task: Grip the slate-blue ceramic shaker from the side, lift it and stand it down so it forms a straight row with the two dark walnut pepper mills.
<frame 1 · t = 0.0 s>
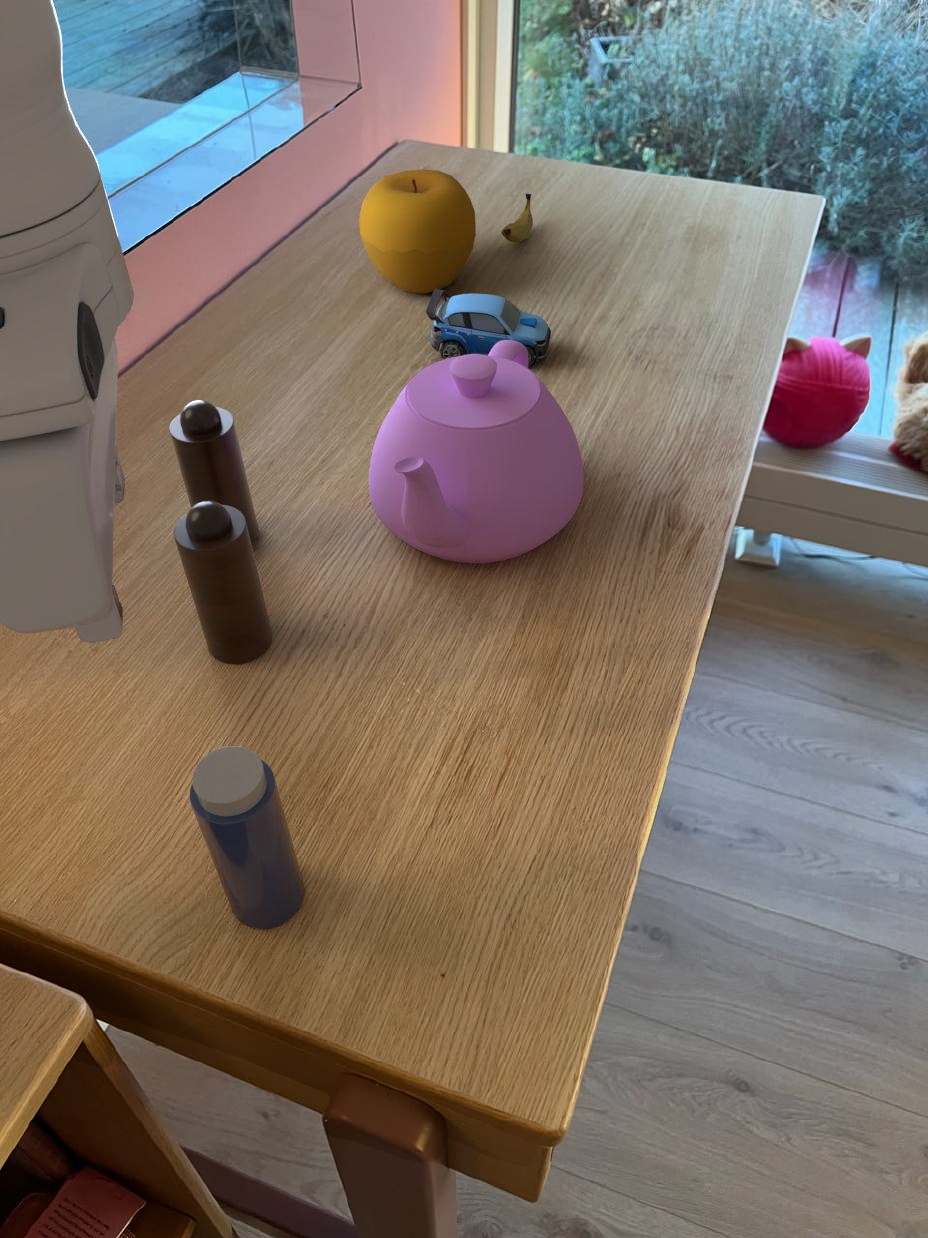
hand: (106, 558, 46), 23 cm above the table, tool pointing down, fingers open, 8 cm apart
apple: (422, 281, 114), on the table
blue shaker: (267, 895, 60), on the table
toy car: (490, 354, 103), on the table
far mill: (229, 535, 83), on the table
banana: (518, 244, 120), on the table
teapot: (472, 516, 84), on the table
near mill: (240, 640, 75), on the table
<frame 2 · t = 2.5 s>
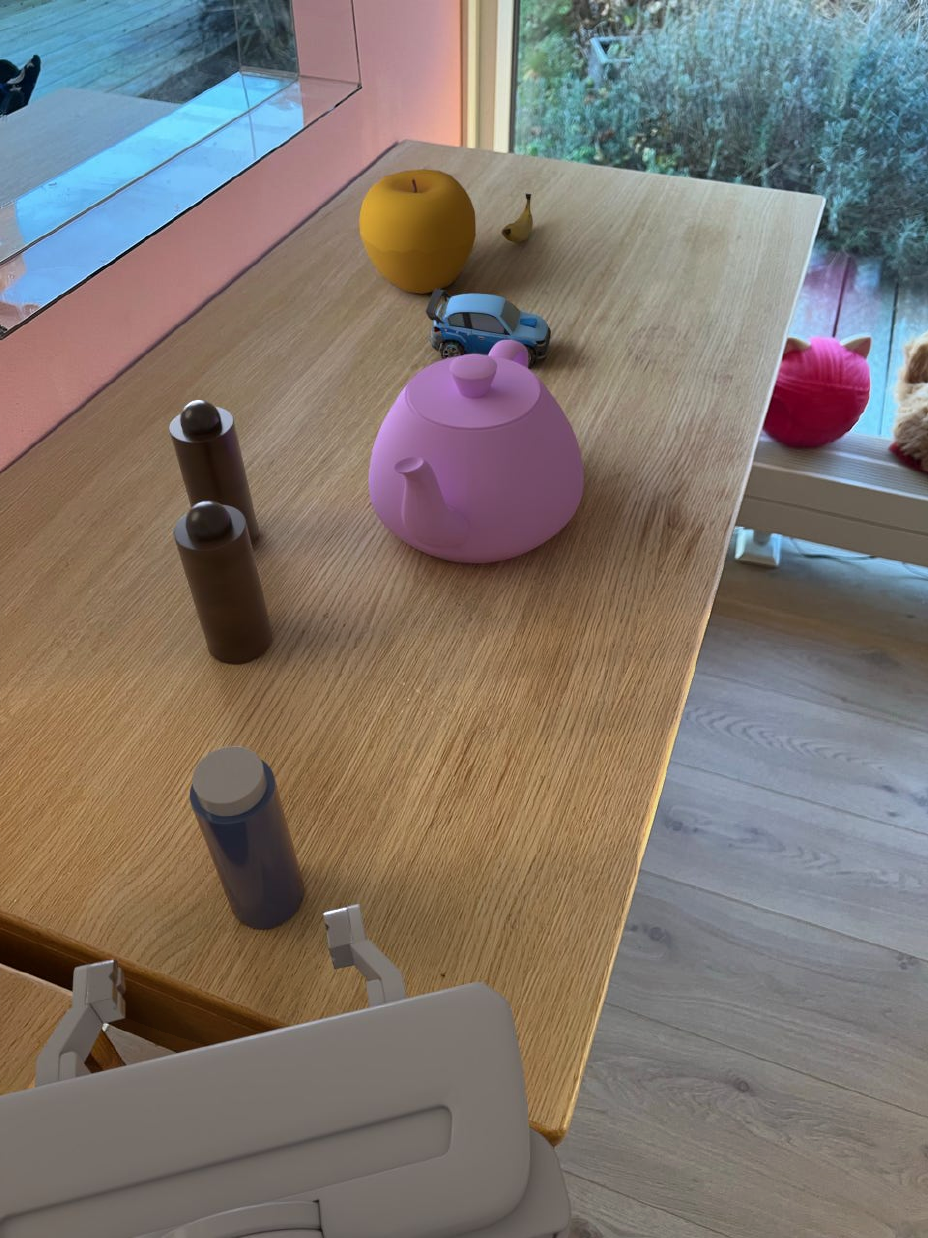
hand: (223, 941, 39), 17 cm above the table, tool horizontal, fingers open, 8 cm apart
nothing on the table moved.
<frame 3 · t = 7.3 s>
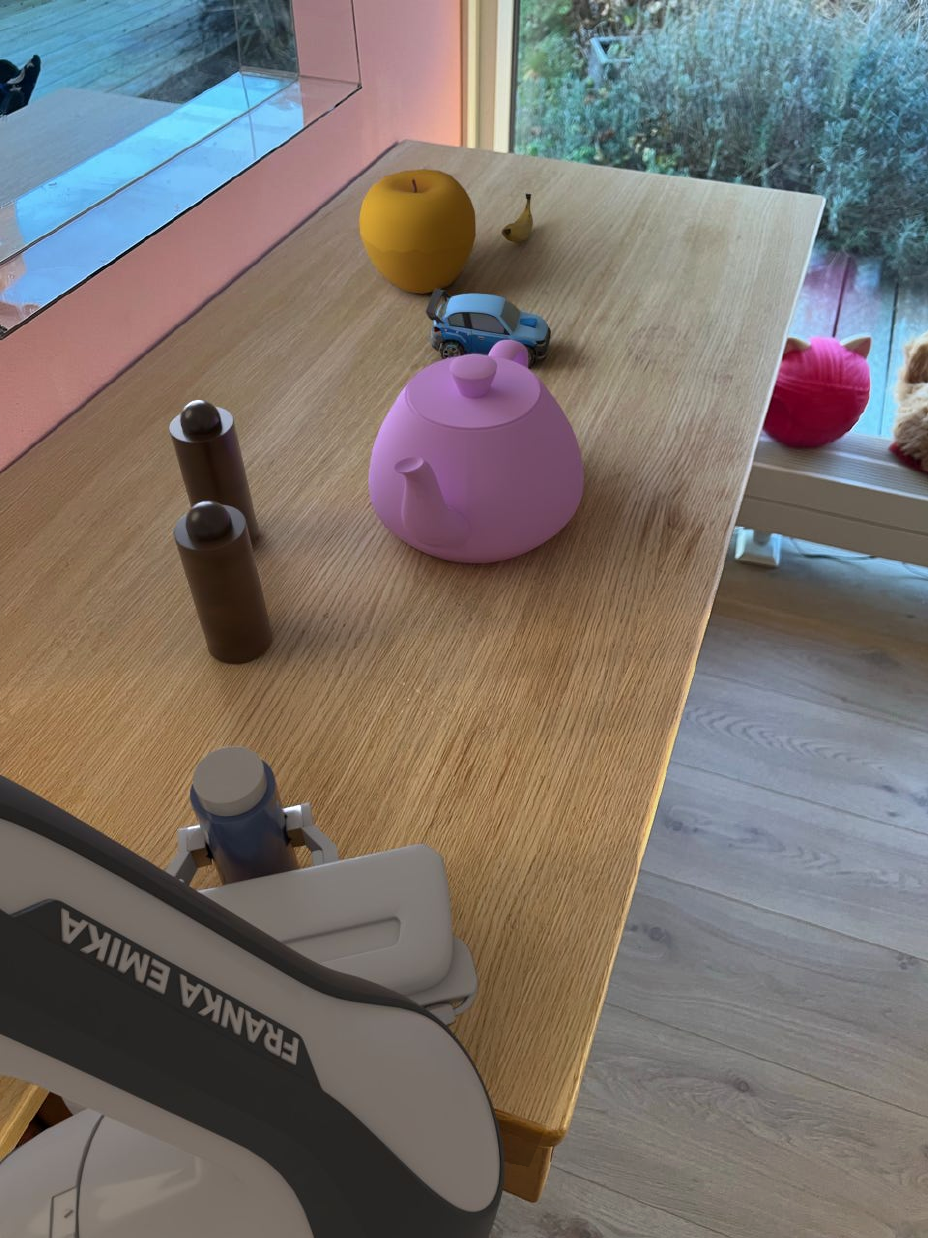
hand: (245, 820, 56), 7 cm above the table, tool horizontal, fingers closed on blue shaker, 4 cm apart
blue shaker: (267, 895, 60), on the table, touching gripper
everything else where it was.
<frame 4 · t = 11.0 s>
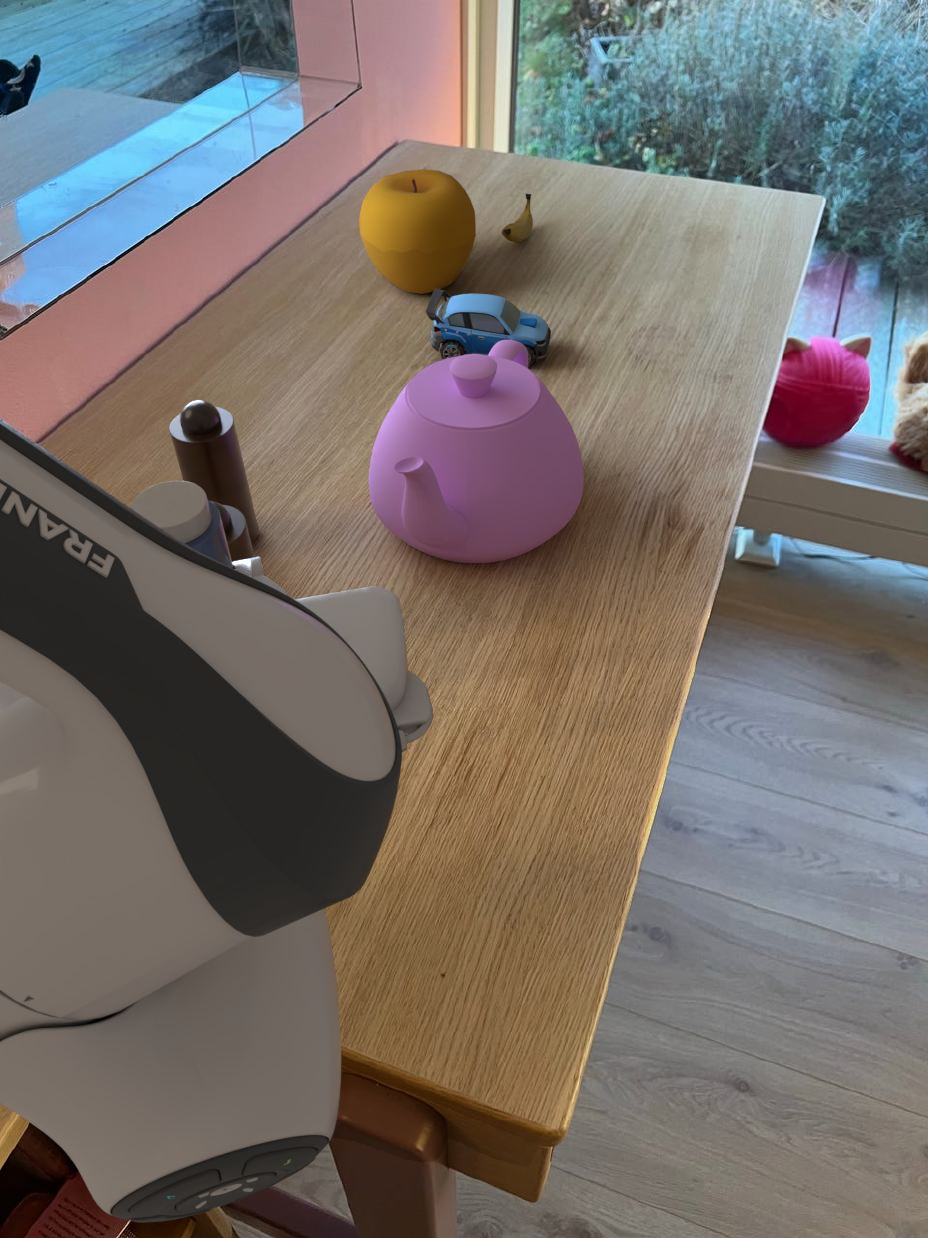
hand: (192, 577, 52), 18 cm above the table, tool horizontal, fingers closed on blue shaker, 4 cm apart
blue shaker: (219, 673, 56), point 12 cm above the table, touching gripper
everything else where it was.
when the fingers open (7 cm above the table, at t = 14.7 s): blue shaker stays where it is, on the table.
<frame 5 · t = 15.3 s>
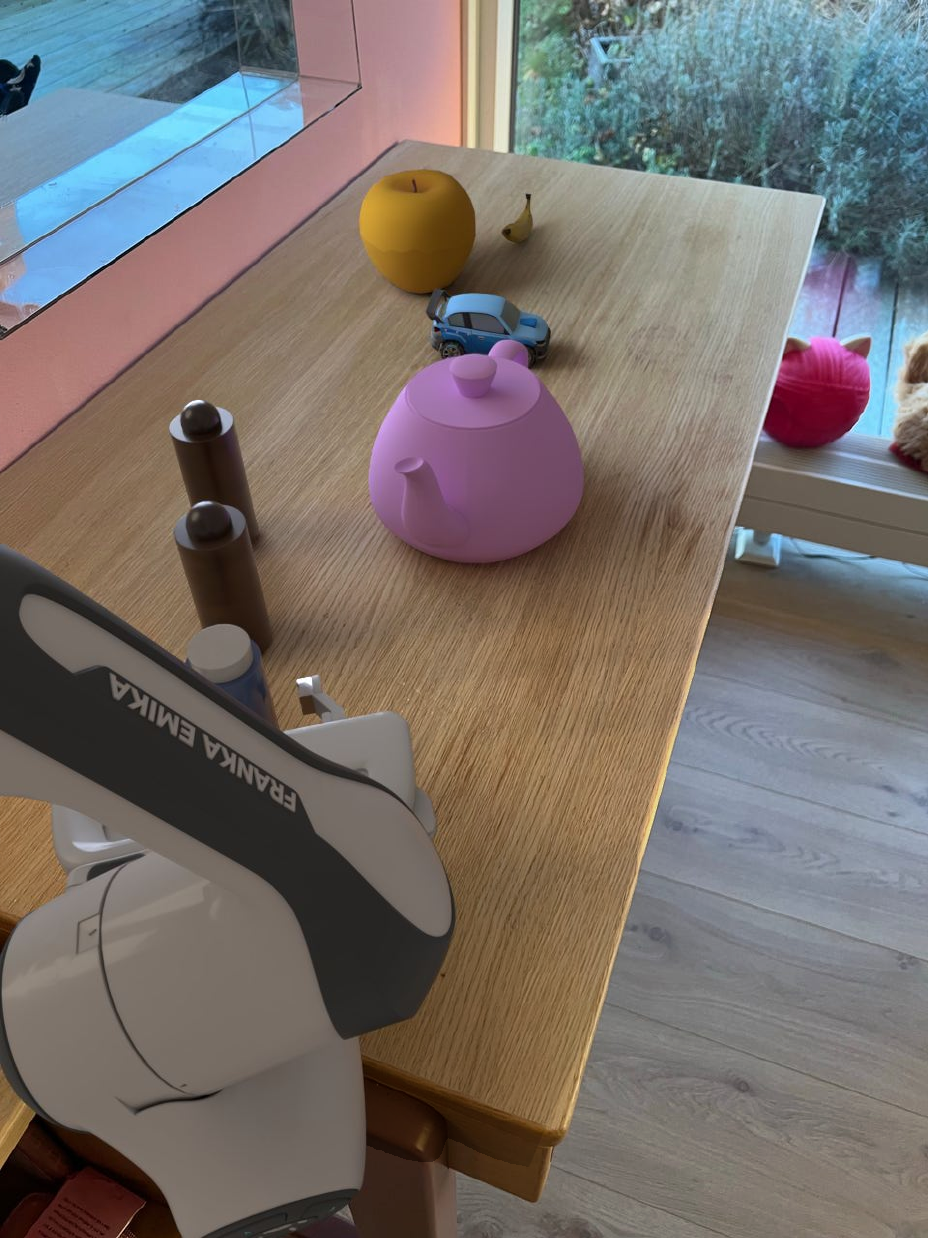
hand: (233, 697, 62), 7 cm above the table, tool horizontal, fingers open, 8 cm apart
blue shaker: (255, 772, 66), on the table
everything else where it was.
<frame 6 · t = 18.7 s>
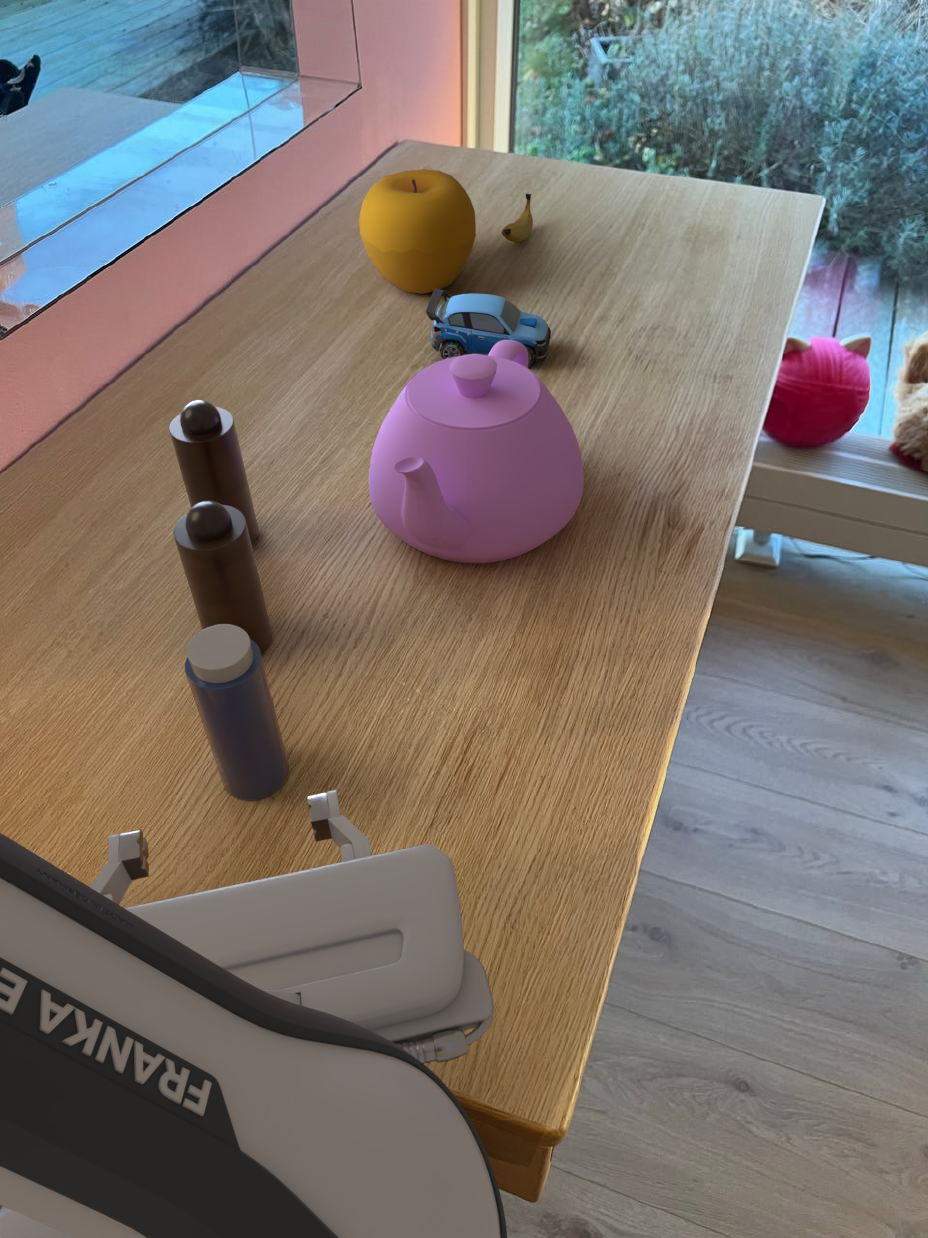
hand: (227, 818, 49), 12 cm above the table, tool horizontal, fingers open, 8 cm apart
nothing on the table moved.
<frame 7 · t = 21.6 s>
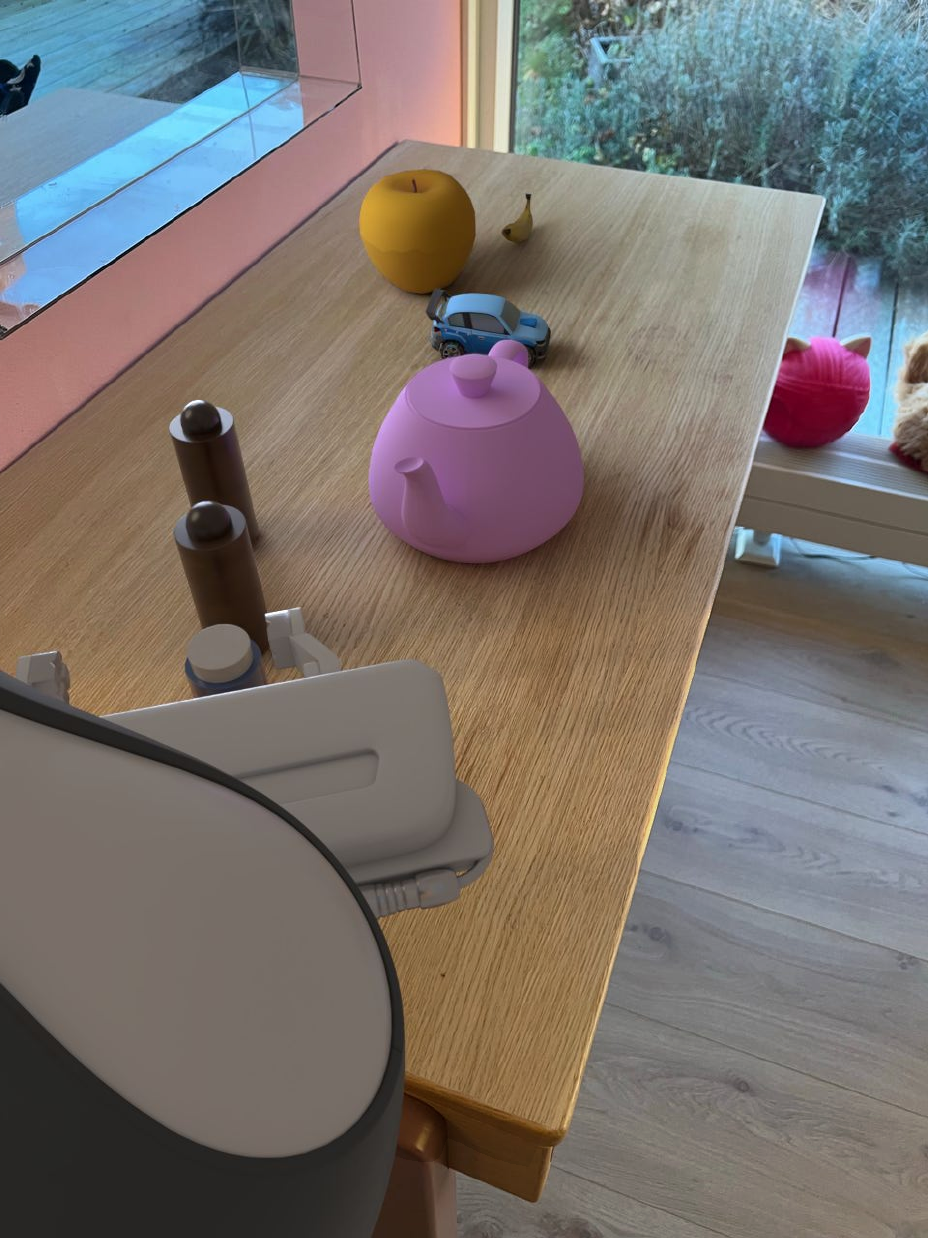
hand: (167, 641, 40), 25 cm above the table, tool horizontal, fingers open, 8 cm apart
nothing on the table moved.
at the end: blue shaker 0.1 cm from the target spot on the table beside the far mill, on the table; blue shaker tilted 0°; the gripper is holding nothing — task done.
